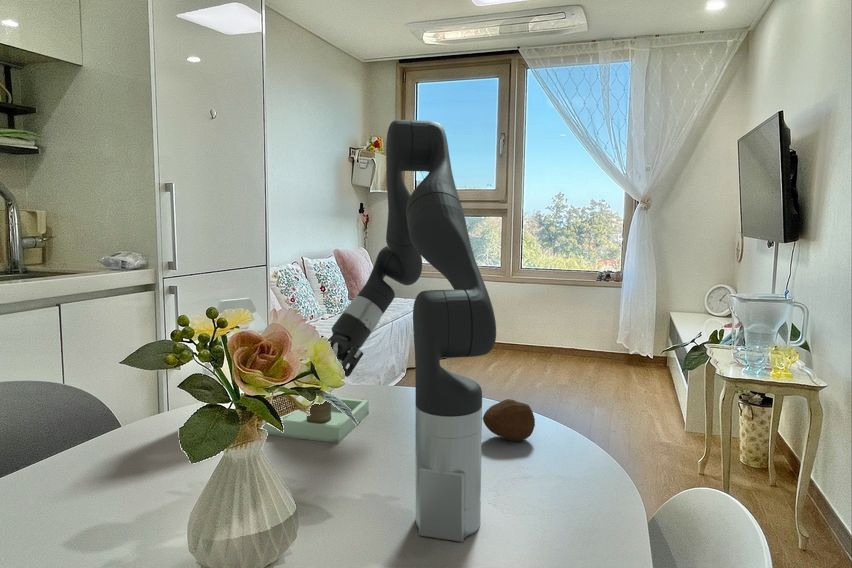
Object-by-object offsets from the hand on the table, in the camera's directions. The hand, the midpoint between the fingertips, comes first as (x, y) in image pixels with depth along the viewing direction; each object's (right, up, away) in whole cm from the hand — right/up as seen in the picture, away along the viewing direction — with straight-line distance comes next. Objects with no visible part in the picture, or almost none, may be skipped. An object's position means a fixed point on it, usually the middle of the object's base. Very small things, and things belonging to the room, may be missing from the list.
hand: (312, 384), depth 113 cm
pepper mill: (+1, -8, +2) cm, 8 cm away
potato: (+39, -10, -6) cm, 41 cm away
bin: (+1, -8, +2) cm, 9 cm away
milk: (-16, -9, +3) cm, 18 cm away
